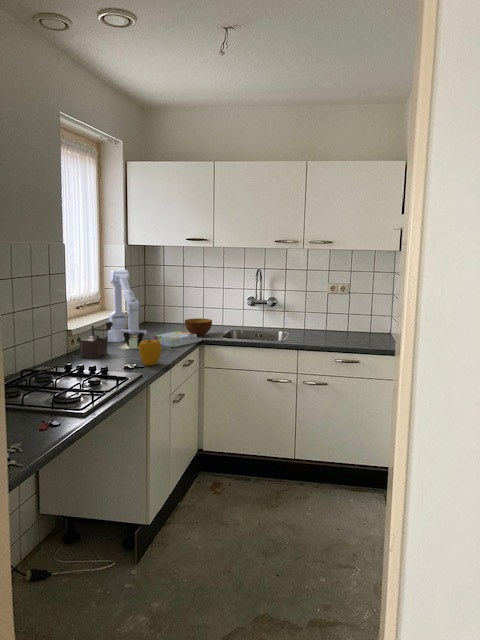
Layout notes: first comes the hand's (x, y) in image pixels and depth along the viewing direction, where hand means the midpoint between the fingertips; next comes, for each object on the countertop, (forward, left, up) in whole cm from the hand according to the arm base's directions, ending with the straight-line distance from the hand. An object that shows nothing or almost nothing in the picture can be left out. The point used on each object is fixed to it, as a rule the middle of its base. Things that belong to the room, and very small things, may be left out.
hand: (134, 346), depth 303 cm
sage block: (0, 0, -1) cm, 1 cm away
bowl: (+30, +44, -2) cm, 54 cm away
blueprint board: (0, +10, -2) cm, 10 cm away
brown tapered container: (-15, -18, -2) cm, 23 cm away
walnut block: (0, +8, -1) cm, 8 cm away
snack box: (+14, +22, +1) cm, 26 cm away
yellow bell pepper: (+18, -35, -2) cm, 40 cm away
